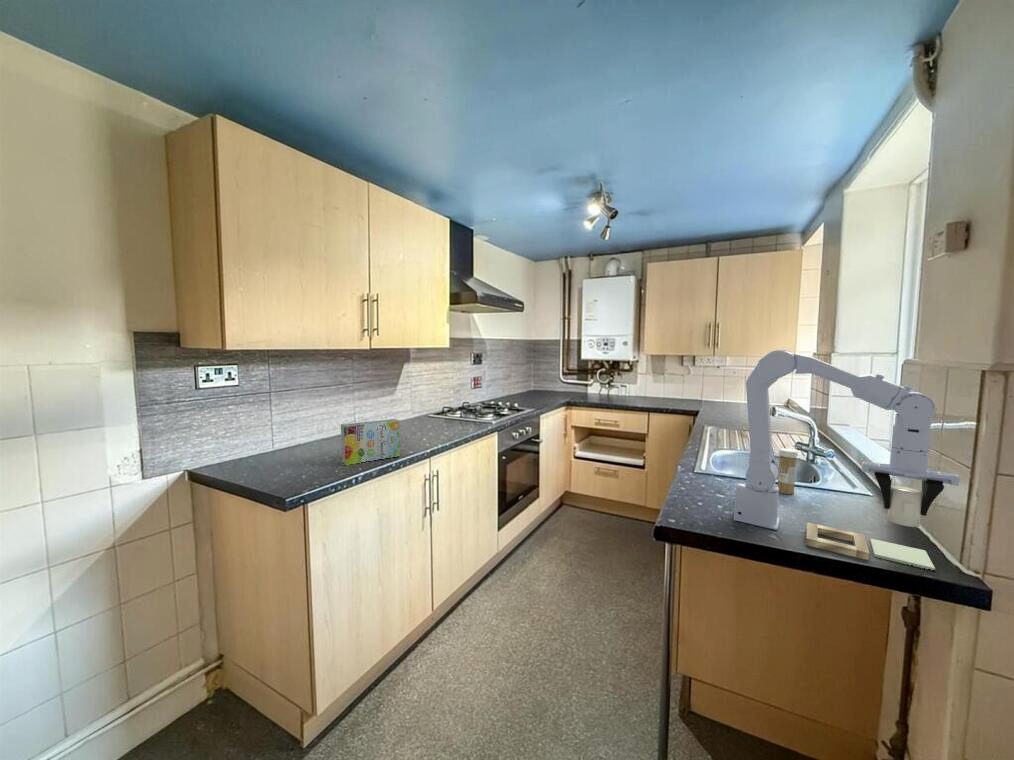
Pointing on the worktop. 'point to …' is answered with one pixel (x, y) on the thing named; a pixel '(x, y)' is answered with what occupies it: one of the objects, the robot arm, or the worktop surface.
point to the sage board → (901, 554)
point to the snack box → (370, 441)
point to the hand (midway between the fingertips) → (904, 510)
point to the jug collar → (856, 551)
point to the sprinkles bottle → (787, 470)
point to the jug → (905, 506)
